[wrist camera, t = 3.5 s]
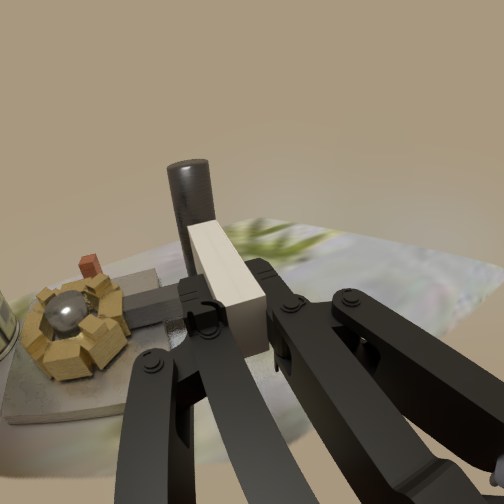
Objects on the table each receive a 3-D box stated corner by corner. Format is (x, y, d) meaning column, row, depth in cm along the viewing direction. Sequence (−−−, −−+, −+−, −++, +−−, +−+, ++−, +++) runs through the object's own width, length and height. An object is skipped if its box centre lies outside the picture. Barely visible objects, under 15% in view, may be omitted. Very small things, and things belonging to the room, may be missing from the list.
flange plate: (10, 424, 15) (-27, 388, 12) (40, 299, 32) (23, 266, 29) (182, 400, 20) (162, 358, 17) (156, 269, 36) (146, 231, 34)
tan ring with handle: (25, 385, 18) (-54, 262, 11) (44, 308, 27) (0, 206, 21) (246, 336, 23) (228, 178, 17) (212, 266, 33) (195, 149, 26)
